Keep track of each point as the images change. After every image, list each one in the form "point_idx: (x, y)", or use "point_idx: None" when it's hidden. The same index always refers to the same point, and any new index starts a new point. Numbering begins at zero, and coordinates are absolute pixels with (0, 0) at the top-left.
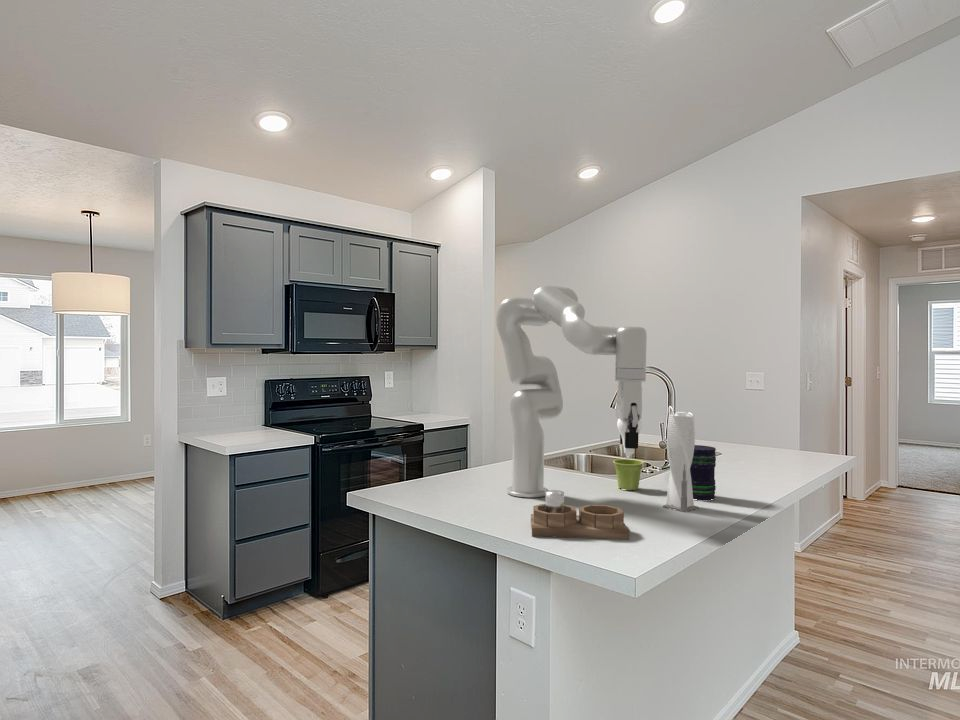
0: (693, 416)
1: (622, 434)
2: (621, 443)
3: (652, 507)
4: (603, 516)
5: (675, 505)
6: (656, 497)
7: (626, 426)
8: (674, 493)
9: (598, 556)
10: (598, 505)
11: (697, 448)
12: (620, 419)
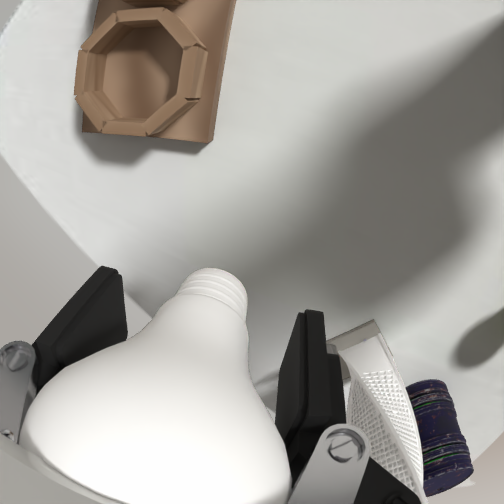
0: None
1: (135, 339)
2: (299, 314)
3: (377, 296)
4: (78, 70)
5: (358, 345)
6: (450, 336)
7: (14, 389)
8: (368, 364)
9: (16, 56)
10: (184, 71)
11: (432, 483)
12: (19, 450)
